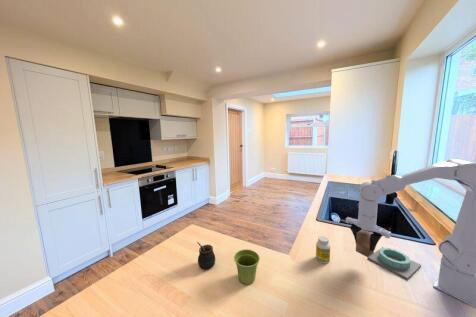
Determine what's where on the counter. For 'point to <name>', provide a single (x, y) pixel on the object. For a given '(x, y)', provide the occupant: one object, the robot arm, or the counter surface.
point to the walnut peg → (364, 243)
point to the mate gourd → (206, 257)
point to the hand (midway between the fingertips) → (365, 246)
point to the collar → (395, 262)
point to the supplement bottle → (323, 250)
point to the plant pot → (246, 265)
